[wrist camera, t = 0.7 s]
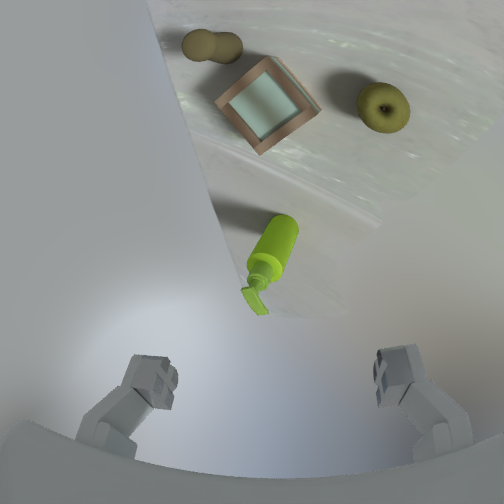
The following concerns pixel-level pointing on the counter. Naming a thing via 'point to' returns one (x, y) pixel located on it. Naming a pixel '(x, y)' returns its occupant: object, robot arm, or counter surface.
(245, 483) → the robot arm
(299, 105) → the brown wooden square box
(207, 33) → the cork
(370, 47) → the counter surface
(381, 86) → the apple
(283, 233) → the soap dispenser
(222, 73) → the counter surface
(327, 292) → the counter surface
